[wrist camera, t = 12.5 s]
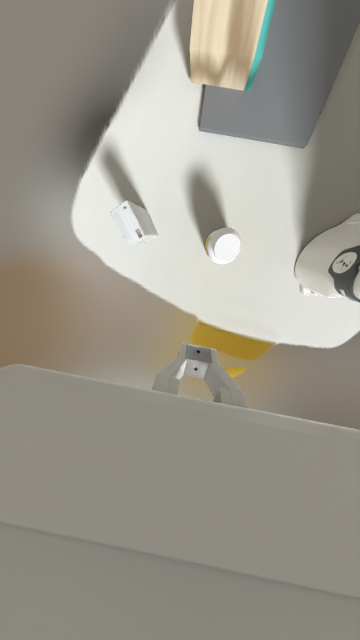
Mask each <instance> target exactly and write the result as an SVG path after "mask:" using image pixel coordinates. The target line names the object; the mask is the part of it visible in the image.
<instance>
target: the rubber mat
mask: <svg viewBox="0 0 360 640" xmlns="http://www.w3.org/2000/svg"><path fill="white" fill-rule="evenodd" d="M359 21H360V0H276V4H275V8H274V12H273V16H272V20H271V24H270V28H269V32H268V36H267V40H266V44H265V48H264V52H263V56H262V59H261V62H260V65H259V67H258V70H257V73H256V76H255V79H254V81H253V84H252V87H251V90H250V92H248V91H242V90H236V89H230V88H224V87H218V86H212V85H206V86H205V93H204V100H203V107H202V114H201V121H200V131H204V132H210V133H216V134H222V135H227V136H233V137H239V138H245V139H251V140H257V141H263V142H269V143H275V144H281V145H287V146H293V147H299V148H304V147H305V146H306V145H307V143H308V141H309V138H310V136H311V134H312V131H313V129H314V127H315V124H316V122H317V120H318V117H319V115H320V113H321V110H322V108H323V106H324V103H325V101H326V99H327V96H328V94H329V92H330V89H331V87H332V85H333V82H334V80H335V78H336V75H337V73H338V70H339V68H340V66H341V63H342V61H343V59H344V56H345V54H346V52H347V49H348V47H349V45H350V42H351V40H352V38H353V35H354V33H355V31H356V28H357V26H358V24H359Z"/></svg>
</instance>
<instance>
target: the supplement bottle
mask: <svg viewBox="0 0 360 640" xmlns="http://www.w3.org/2000/svg"><path fill="white" fill-rule="evenodd" d="M240 247H241V239H240V236H239V234H238V233H237V232H236V231H235V230H234V229H232V228H221V229H218V230H216V231H214V232H212V233H211V234H210V235H209V236H208V238H207V240H206V243H205V250H206V253H207V255H208V256H209V258H210V259H211V260H212V261H213V262H215V263H217V264H226V263H229V262H230V261H232V260H233V259H234V258H235V257H236V256H237V255H238V253H239V251H240Z"/></svg>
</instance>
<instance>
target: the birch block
mask: <svg viewBox="0 0 360 640" xmlns="http://www.w3.org/2000/svg"><path fill="white" fill-rule="evenodd" d="M275 4H276V0H194V6H193V16H192V27H191V37H190V70H191V82H194V83H200V84H206V85H212V86H218V87H224V88H230V89H236V90H242V91H248V92H250V90H251V87H252V84H253V81H254V79H255V76H256V73H257V70H258V67H259V65H260V62H261V59H262V56H263V52H264V48H265V44H266V40H267V36H268V32H269V28H270V24H271V20H272V16H273V12H274V8H275Z"/></svg>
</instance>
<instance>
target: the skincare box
mask: <svg viewBox="0 0 360 640" xmlns="http://www.w3.org/2000/svg"><path fill="white" fill-rule="evenodd" d="M110 214H111V216H112V218H113V219H114V221H115V223H116V225H117V226H118V228H119V230H120V231H121V233H122V235H123V236H124V238H125V240H126V242H127V243H128V245H135V244H141V243H146V242H147V241H149V240H151V239H153V238H154V237H156V236H158V234H157V232H156V230H155V227H154V225H153V223H152V221H151V219H150V216H149V214H148V212H147V210H145V209H143V208H142V207H140V206H138V205H136V204H134V203H132V202H130V201H128V200H126V201H124V202H123V203H122V204H120V205H119V206H118V207H116V208H115V209H114V210H112V211H111V212H110Z"/></svg>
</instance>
